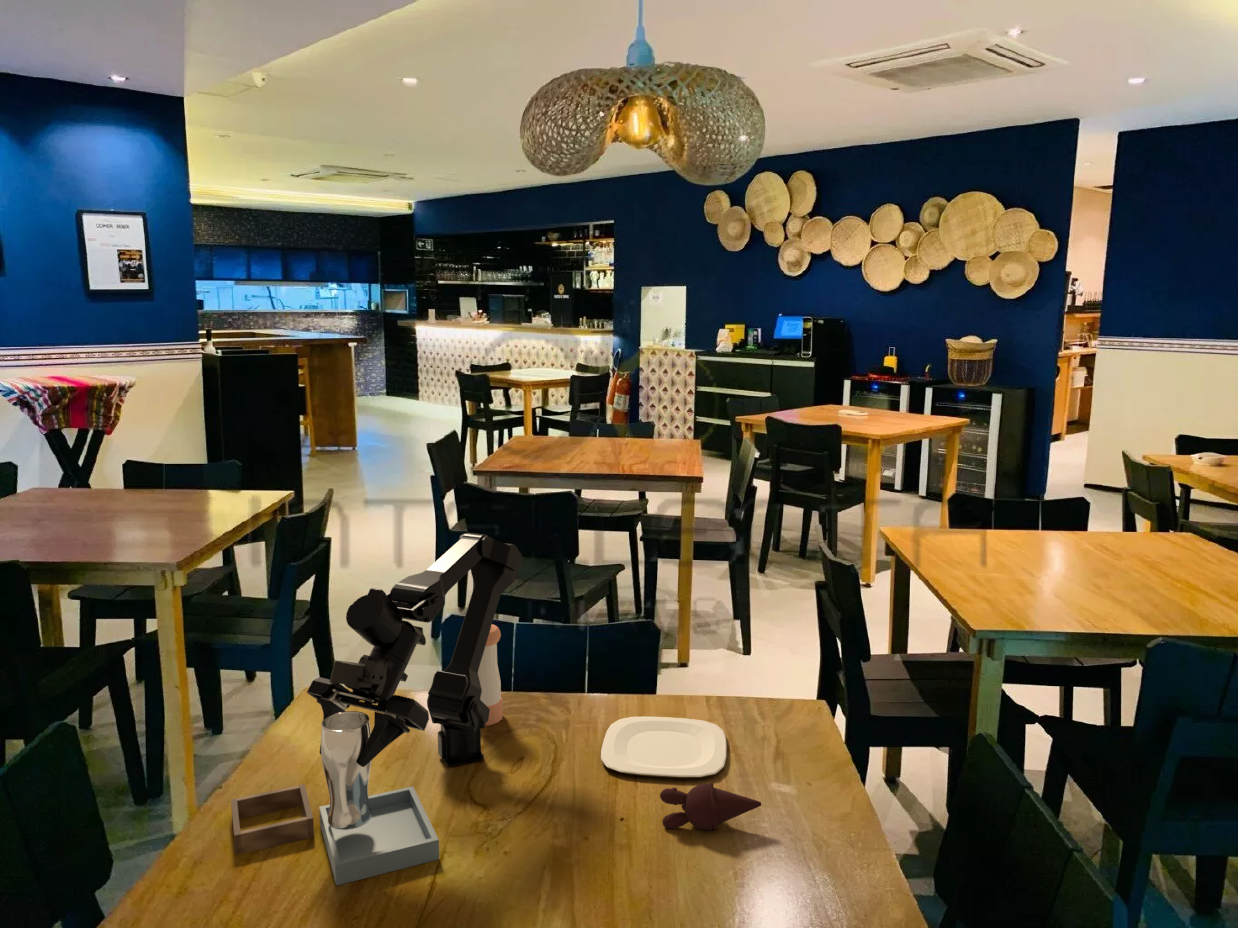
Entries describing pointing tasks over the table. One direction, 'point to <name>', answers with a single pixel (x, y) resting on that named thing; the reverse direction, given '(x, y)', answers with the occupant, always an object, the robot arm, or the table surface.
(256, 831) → the rectangular frame
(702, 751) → the plate
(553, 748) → the table surface
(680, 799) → the icecream
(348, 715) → the silver metal cup
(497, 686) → the salt shaker
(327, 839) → the tray
